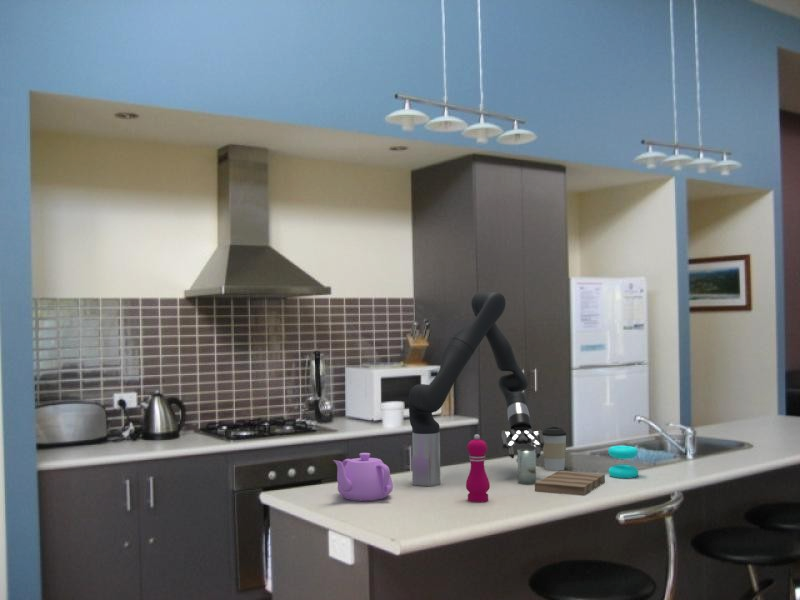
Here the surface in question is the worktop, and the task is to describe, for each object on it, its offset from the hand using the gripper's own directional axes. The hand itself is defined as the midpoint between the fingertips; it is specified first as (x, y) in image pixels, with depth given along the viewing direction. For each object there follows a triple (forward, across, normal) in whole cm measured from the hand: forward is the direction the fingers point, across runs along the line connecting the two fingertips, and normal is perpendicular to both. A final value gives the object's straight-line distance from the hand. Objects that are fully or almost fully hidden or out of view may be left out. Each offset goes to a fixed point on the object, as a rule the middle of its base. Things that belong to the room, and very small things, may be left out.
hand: (525, 456), depth 290 cm
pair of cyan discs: (+2, +35, +10) cm, 37 cm away
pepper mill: (+26, -20, -14) cm, 35 cm away
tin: (+8, 0, +4) cm, 9 cm away
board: (+13, +13, -1) cm, 18 cm away
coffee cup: (-10, +14, +22) cm, 28 cm away
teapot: (+22, -56, -10) cm, 60 cm away
